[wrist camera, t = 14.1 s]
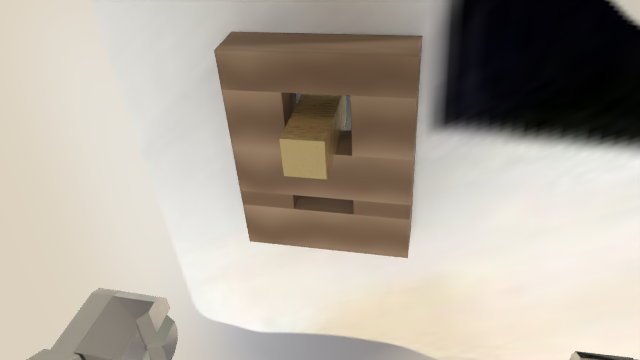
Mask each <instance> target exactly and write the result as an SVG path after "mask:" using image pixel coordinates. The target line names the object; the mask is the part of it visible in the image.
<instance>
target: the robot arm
mask: <svg viewBox="0 0 640 360" xmlns="http://www.w3.org/2000/svg"><path fill="white" fill-rule="evenodd" d="M169 309H170V307H169V304H168V302H167V299H166V298H162V297H156V296H149V295H143V294H136V293H130V292H123V291H118V290H110V289H103V288H99V289H97V290H96V291H94V292H93V293H92V294H91V295H90V296H89V298H88V299H87V300H86V302H85V303H84V304H83V306H82V307H81V308H80V310H79V311H78V313H77V314H76V315H75V317H74V318H73V319H72V321H71V322H70V323H69V325H68V326H67V328H66V329H65V330H64V332H63V333H62V334H61V336H60V337H59V339H58V340H57V341H56V343H55V344H54V345H53V347H52V348H51V350H47V349H43V350H42V351H40V352H38V353H37V354H35V355H34V356H32V357H30V358H29V359H27V360H171V359H172V357H173V355H174V353H175V349H176V344H177V340H178V337H177V336H178V335H177V327H176V324H175V322H174V321H173V320H172V319H171V318H170V317H169V316H168V315H167V313H168V311H169ZM570 360H637V359H633V358H628V357H619V356H611V355H603V354H594V353H586V352H577V351H575V352H574V353H573V354H572V355H571V358H570Z"/></svg>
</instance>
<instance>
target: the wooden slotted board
mask: <svg viewBox="0 0 640 360" xmlns="http://www.w3.org/2000/svg"><path fill="white" fill-rule="evenodd" d="M421 46H422V36H395V35H350V34H304V33H259V32H231V33H230V34H229V35H228V36H227V37H226V38H225V39H224V40H223V42H222V43H221V44H220V45H219V46H218V47H217V48H216V49H215V50H214V52H215V57H216V63H217V68H218V73H219V79H220V84H221V89H222V95H223V100H224V105H225V111H226V116H227V122H228V127H229V132H230V138H231V143H232V148H233V154H234V159H235V164H236V170H237V175H238V180H239V186H240V191H241V196H242V202H243V207H244V212H245V218H246V223H247V228H248V234H249V239H250V241H253V242H262V243H272V244H281V245H290V246H300V247H309V248H318V249H328V250H337V251H347V252H356V253H365V254H375V255H384V256H393V257H403V258H408V250H409V240H410V231H411V215H412V198H413V181H414V164H415V148H416V131H417V114H418V97H419V80H420V63H421ZM295 93H304V94H326V95H348V96H351V130H352V131H343V133H342V136H341V139H340V142H339V145H338V148H337V151H336V154H335V156H334V159H333V162H332V165H331V168H330V171H329V174H328V177H327V179H315V178H302V177H290V176H284V173H283V165H282V156H281V148H280V140H279V139H280V137H281V135H282V133H283V131H284V129H285V127H286V125H287V123H288V121H289V119H290V117H291V115H292V113H293V111H294V109H295V107H296V95H295Z"/></svg>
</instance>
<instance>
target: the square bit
mask: <svg viewBox="0 0 640 360" xmlns="http://www.w3.org/2000/svg"><path fill="white" fill-rule="evenodd" d="M346 121H347V111H346V95H326V94H304V93H302V95H301V97H300V99H299V101H298V103H297V105H296V107H295V109H294V111H293V113H292V115H291V117H290V119H289V121H288V123H287V125H286V127H285V129H284V131H283V133H282V135H281V137H280V139H279V140H280V148H281V156H282V165H283V173H284V176H290V177H302V178H315V179H327V177H328V174H329V171H330V168H331V165H332V162H333V159H334V156H335V154H336V151H337V148H338V145H339V142H340V139H341V136H342V133H343V130H344V127H345V124H346Z"/></svg>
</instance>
